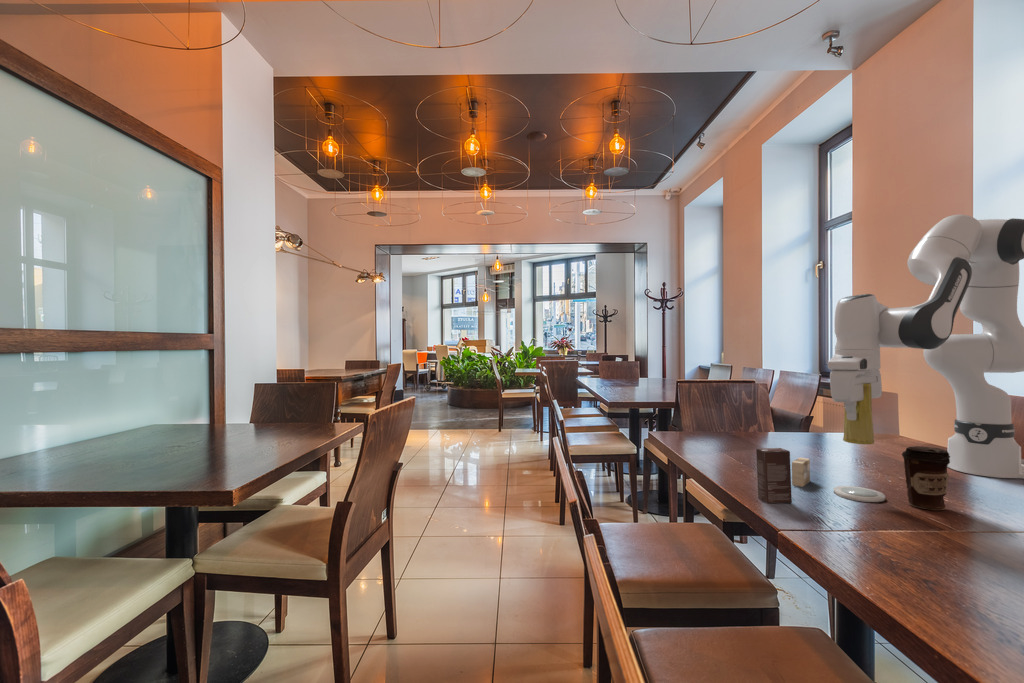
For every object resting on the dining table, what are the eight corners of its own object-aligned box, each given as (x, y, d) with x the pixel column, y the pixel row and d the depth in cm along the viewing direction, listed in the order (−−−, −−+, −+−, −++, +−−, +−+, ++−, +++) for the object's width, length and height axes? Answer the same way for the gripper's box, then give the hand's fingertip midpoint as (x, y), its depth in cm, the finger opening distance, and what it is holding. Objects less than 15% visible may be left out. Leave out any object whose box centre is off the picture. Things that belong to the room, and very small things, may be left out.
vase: (881, 444, 111) (879, 383, 111) (854, 444, 111) (853, 384, 111) (862, 439, 117) (861, 381, 117) (837, 439, 117) (836, 382, 117)
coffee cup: (963, 514, 100) (962, 453, 101) (918, 512, 102) (917, 452, 102) (935, 501, 109) (934, 445, 109) (894, 499, 111) (893, 444, 111)
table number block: (799, 479, 128) (799, 457, 128) (810, 481, 126) (810, 458, 126) (792, 485, 123) (791, 462, 123) (803, 487, 121) (802, 463, 121)
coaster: (844, 486, 121) (843, 483, 121) (892, 496, 112) (891, 493, 112) (826, 494, 115) (826, 490, 115) (875, 505, 107) (875, 501, 107)
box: (781, 497, 113) (780, 447, 113) (792, 503, 108) (791, 451, 109) (756, 497, 113) (755, 447, 113) (766, 503, 108) (765, 451, 109)
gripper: (859, 360, 122) (860, 413, 122) (824, 362, 111) (825, 421, 111) (889, 360, 117) (890, 416, 117) (855, 362, 106) (856, 424, 105)
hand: (858, 418), depth 114 cm, fingers closed on vase, 5 cm apart
